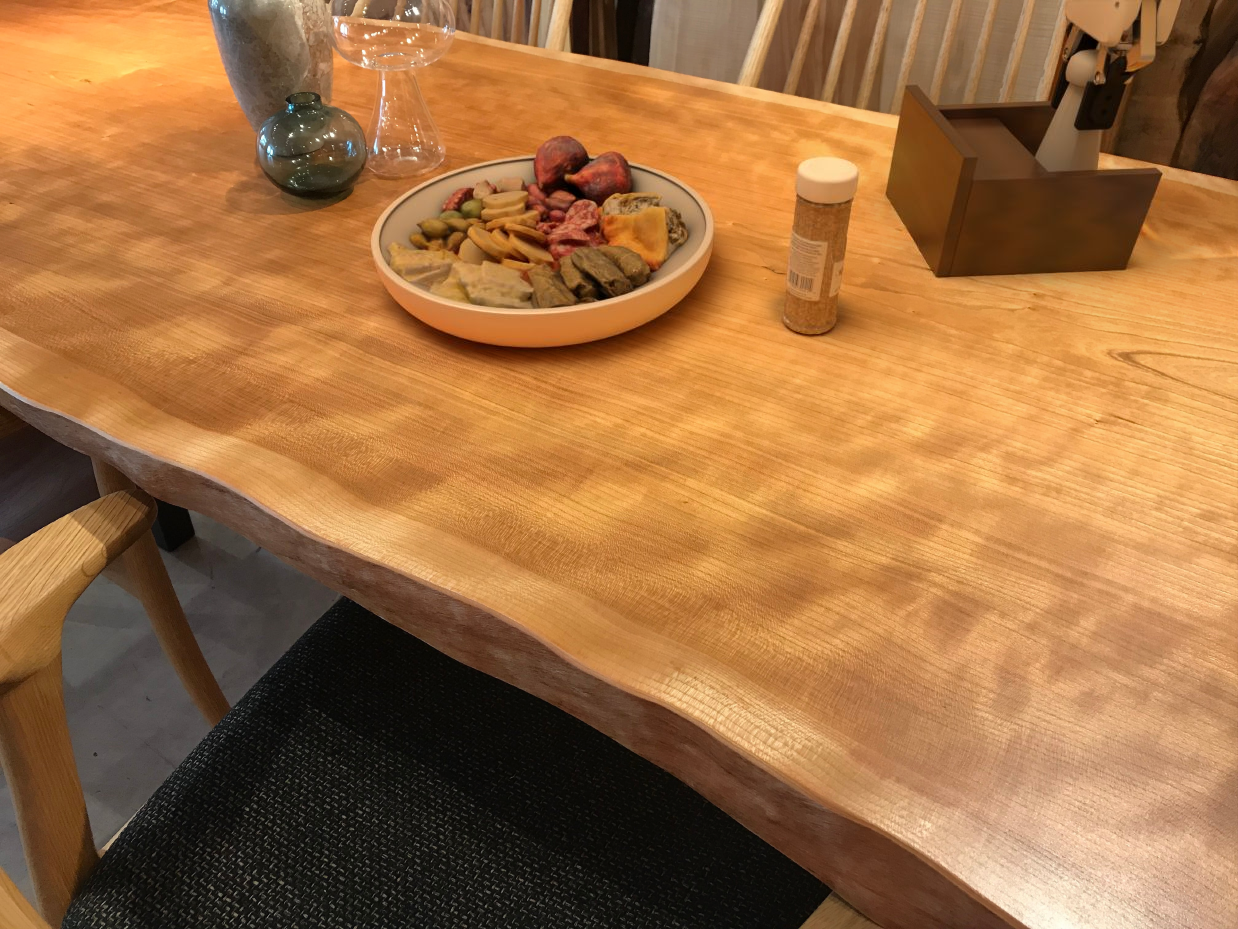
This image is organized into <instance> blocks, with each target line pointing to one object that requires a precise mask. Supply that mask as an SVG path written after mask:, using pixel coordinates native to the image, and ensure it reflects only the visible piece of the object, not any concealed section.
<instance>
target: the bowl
mask: <svg viewBox="0 0 1238 929" xmlns="http://www.w3.org/2000/svg"><path fill="white" fill-rule="evenodd" d="M378 217H379V218H378V219H377V221H376V223H375V224H374V226H373V230H372V233H371V238H370V249H371V253H372V259H373V263H374V266H375V268H376V272H377V274H378V276H379V279H380V280H381V282H382V285H384V287H385V289H386V290H387V291H388V293H389V294H390V295H391V297H392V298H393V299H394V300H395V302H397V303H398V304H399V305H400V307H402V308H403V309H405V311H407V312H408V313H409V314H411V315H412V316H413V317H415V318H416V319H418V320H419V321H421V322H423V323H424V324H426V325H428V326H430V327H432V328H434V329H436V330H439V331H442V332H443V333H446V334H449V335H452V336H454V337H458V338H461V339H464V340H468V341H472V342H477V343H481V344H482V343H483V344H487V345H493V346H503V347H513V348H551V347H563V346H572V345H579V344H584V343H590V342H594V341H599V340H603V339H606V338H610V337H613V336H617V335H620V334H624V333H627V332H628V331H629V332H630V331H631V330H634V329H636V328H638V327H640V326H643V325H645V324H647V323H650V322H651V321H653V320H655V319H657V318H658V317H660V316H662V315H663V314H665V313H667V312H668V311H669V310H670V309H671V308H673V307H675V306H676V305H677V304H679V303H680V302H681V301H682V300H683V299H684V298H685V297H686V296H687V295H688V294H689V293H690V292H691V291H692V290H693V289H694V287H695V286H696V285H697V283H698V282H699V281H700V279H701V277H702V276H703V274H704V272H705V271H706V268H707V266H708V265H709V262H710V259H711V256H712V253H713V247H714V241H715V220H714V215H713V213H712V210H711V207H709V204H708V203H707V201H705V199H704V198H703V197H702V196H701V194H700V193H698V192H697V191H696V190H695V189H694V188H693V187H691V186H690V185H688V184H687V183H685V182H684V181H682V180H680V179H679V178H677V177H675V176H673V175H671V174H669V173H668V172H667V173H666V172H664V171H661V170H659V169H656V168H654V167H651V166H648V165H644V164H641V163H637V162H634V161H633V162H632V161H629V160H627V158H625V157H624V155H622V153H619V152H617V151H614V150H613V151H610V150H609V151H606V152H604V153H601V154H600V155H589V154H588V152H587V150H586V148H585V147H584V145H583V144H582V143H581V142H580V141H578V139H576V138H574V137H573V136H571V135H558V136H555V137H552V138H550V139H548V140H545V142H544V143H542V144H541V146H540V147H539V148H538V150H537V152H536V154H529V155H520V156H512V157H505V158H504V157H503V158H499V159H493V160H488V161H483V162H479V163H475V164H471V165H467V166H464V167H460V168H457V169H454V170H451V171H448V172H445V173H442V174H440V175H437V176H434V177H432V178H430V179H428V180H425V181H424V182H422V183H420V184H418V185H417V186H416V185H415V186H414V187H412V188H411V189H409V190H408V191H406V192H405V193H403V194H402V195H400V196H399V197H398V198H397V199H395V200H394V201H393V202H392V203H390V205H388V207H387V208H386V209H384V211H382V213H381V214H380V216H378Z"/></svg>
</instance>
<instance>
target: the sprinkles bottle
mask: <svg viewBox="0 0 1238 929" xmlns="http://www.w3.org/2000/svg"><path fill="white" fill-rule="evenodd" d="M859 176H860V170H859V168H858V167H857V166H856V165H855V164H854V163H853V162H851V161H849V160H846V159H844V158H839V157H833V156H817V157H813V158H808V159H805V160H804V161H802V162H800V164H799V165H798V166H797V169H796V176H795V184H794V190H795V193H796V194H795V197H796V200H795V206H794V214H793V224H792V227H791V234H790V235H791V236H790V243H789V252H788V261H787V270H786V271H787V272H786V282H785V287H786V290H785V299H784V308H783V311H782V314H781V320H782V322H783V324H784V325H785V326H786V327H787V328H789V329H790V330H792V331H794V332H797V333H800V334H805V335H821V334H822V333H827V332H828V331H830V330H831V329H833V327H834V326H835V325H836V322H837V308H838V301H839V300H838V299H839V294H840V291H841V286H842V278H843V272H844V264H845V257H846V252H847V251H846V250H847V244H848V243H847V242H848V231H849V226H850V218H851V213H852V212H851V211H852V205H853V204H852V203H853V202H854V198H855V196H856V194H857V192H858V184H859Z"/></svg>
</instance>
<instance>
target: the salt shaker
mask: <svg viewBox="0 0 1238 929" xmlns="http://www.w3.org/2000/svg"><path fill="white" fill-rule="evenodd" d="M1098 54H1099V50H1084V51H1080V52H1078V53H1076V54H1075V55H1074V56H1072V57H1071V59H1070V61H1069V63H1068V65H1067V69H1066V80H1067V81H1069V82H1070V83H1069V86H1068V88H1067V90H1066V92H1065V94H1064V96H1063V98H1062V100H1061V103H1060V105H1059V107H1058V109H1057V111H1056V113H1055V115H1054V117H1053V119H1052V122H1051V124H1050V126H1049V128H1048V130H1047V132H1046V134H1045V136H1044V139H1043V141H1042V143H1041V145H1040V147H1039V149H1038V151H1037V153H1036V156H1035V159H1036V160H1037V161H1038V162H1039V163H1040V164H1041V165H1042V166H1043V167H1044V168H1045V169H1046V170H1047V171H1048V172H1055V171H1081V170H1099V161H1100V160H1099V159H1100V151H1101V144H1102V143H1101V142H1102V132H1103V131H1102V130H1077V129H1076V128H1075V127H1074V123H1075V120H1076V116H1077V113H1078V110H1079V107H1080V103H1081V100H1082V97H1083V94H1084V91H1085V87H1086V84H1087V81H1093V78H1094V73H1095V68H1096V63H1097V58H1098ZM1117 57H1119V55H1118V54H1116V53H1114V52H1112V56H1111V61H1110V64H1111V63H1112V62H1113V61H1114V60H1115V59H1116V58H1117Z"/></svg>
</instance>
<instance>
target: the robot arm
mask: <svg viewBox="0 0 1238 929" xmlns="http://www.w3.org/2000/svg"><path fill="white" fill-rule="evenodd" d="M1181 2H1182V0H1065V4H1064V15H1065V20H1066V26H1067V28H1066V29H1065V32H1066V42H1065V45H1064V47H1063V50H1062V55H1061V56H1062V60H1063V61H1062V63H1061V67H1060V70H1059V72H1058V73H1059V74H1058V77H1057V80H1056V84H1055V87H1054V91H1053V94H1052V97H1051V100H1050V101H1051V106H1052V107H1053V108H1054V109H1058V107H1059V105H1060V103H1061V100H1062V98H1063V96H1064V94H1065V92H1066V90H1067V88H1068V86H1069V83H1070V82H1069V81H1067V80H1066V69H1067V65H1068V63H1069V61H1070V59H1071V57H1072V56H1074V55H1075V54H1076V53H1078V52H1080V51H1084V50H1099V54H1098V58H1097V63H1096V68H1095V73H1094V78H1093V81H1087V84H1086V87H1085V91H1084V94H1083V97H1082V100H1081V103H1080V107H1079V110H1078V113H1077V116H1076V120H1075V123H1074V127H1075V128H1076V129H1077V130H1103V131H1105V130H1107V131H1108V130H1110V129H1112V127H1113V126H1114V123H1115V120H1116V117H1117V115H1118V111H1119V109H1120V106H1121V103H1122V100H1123V96H1124V94H1125V91H1126V88H1127V85H1130V84H1131V83H1132V81H1133V79H1134V75H1135V74H1137V73H1138V72H1139V71H1140V70H1141V69H1142V68H1144V67H1146V66H1148V65H1150V64H1151V63H1153V62H1154V60H1155V58H1156V54H1157V52H1156V48H1157V47H1158V46H1159V47H1160V46H1162V45H1164V44H1165V43H1166V42H1167V41H1168V39H1169V36H1170V35H1171V32H1172V30H1173V26H1174V23H1175V20H1176V18H1177V15H1178V11H1179V8H1180V5H1181ZM1122 36H1129V39H1128V40H1129V41H1122ZM1113 52H1124V54H1123V56H1122V55H1120V56H1119V55H1118V56H1119V57H1117V58H1116V59H1115V60H1114V61H1113V62H1112V63H1111V64H1110V61H1111V56H1112V53H1113Z"/></svg>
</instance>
